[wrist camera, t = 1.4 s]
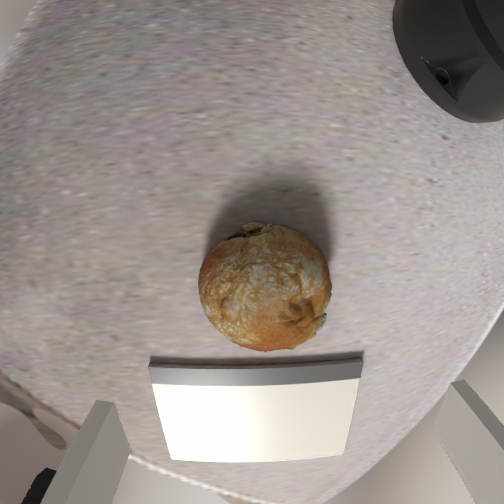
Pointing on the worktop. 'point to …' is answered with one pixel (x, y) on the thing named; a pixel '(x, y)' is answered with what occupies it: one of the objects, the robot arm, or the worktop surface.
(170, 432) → the mat
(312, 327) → the bread roll
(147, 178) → the worktop surface
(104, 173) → the worktop surface
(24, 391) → the worktop surface
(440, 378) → the worktop surface
